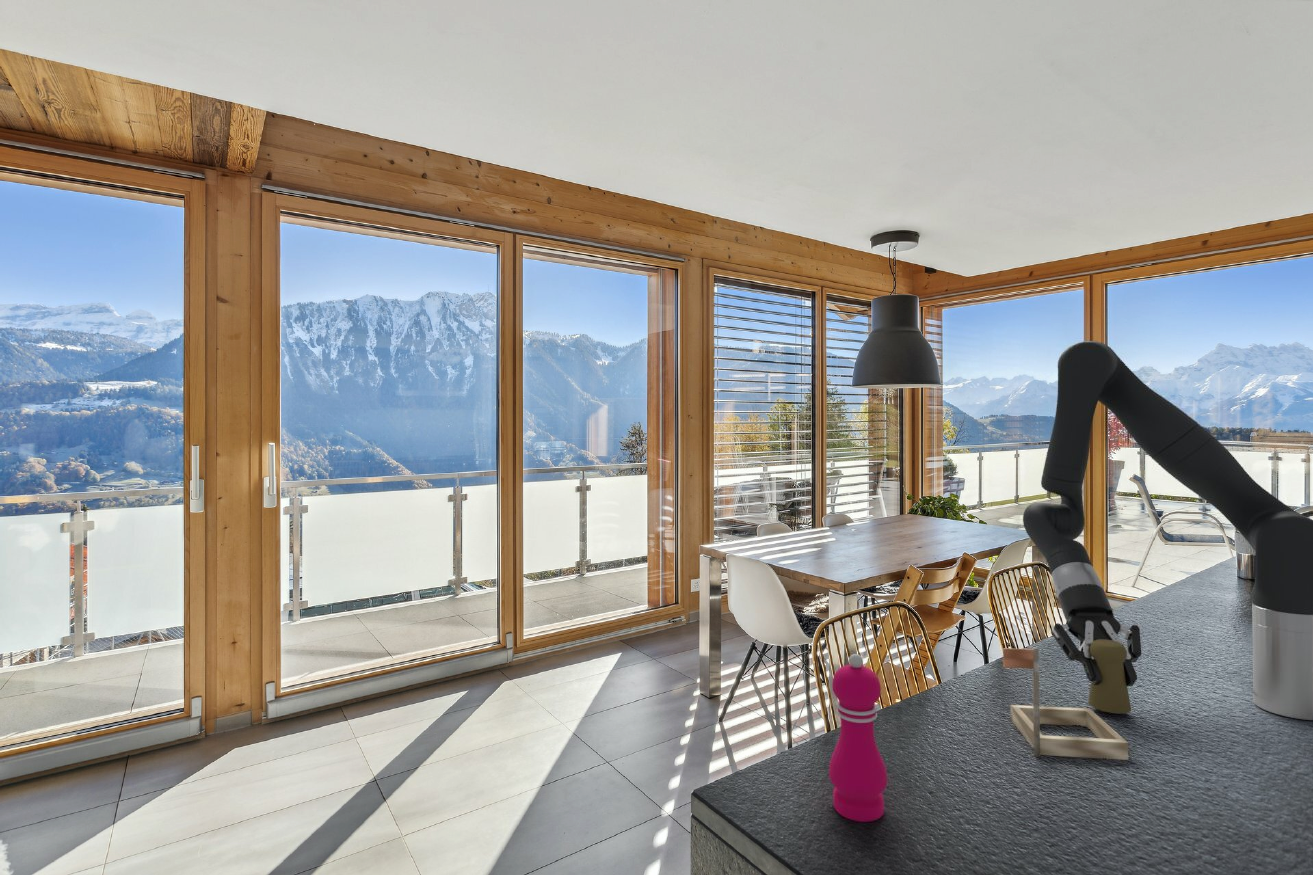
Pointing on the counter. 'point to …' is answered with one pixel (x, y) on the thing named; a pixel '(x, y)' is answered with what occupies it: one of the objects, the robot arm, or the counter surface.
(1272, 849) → the counter surface
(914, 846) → the counter surface
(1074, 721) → the wooden square frame
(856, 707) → the pepper mill
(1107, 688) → the cork
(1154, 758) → the counter surface
